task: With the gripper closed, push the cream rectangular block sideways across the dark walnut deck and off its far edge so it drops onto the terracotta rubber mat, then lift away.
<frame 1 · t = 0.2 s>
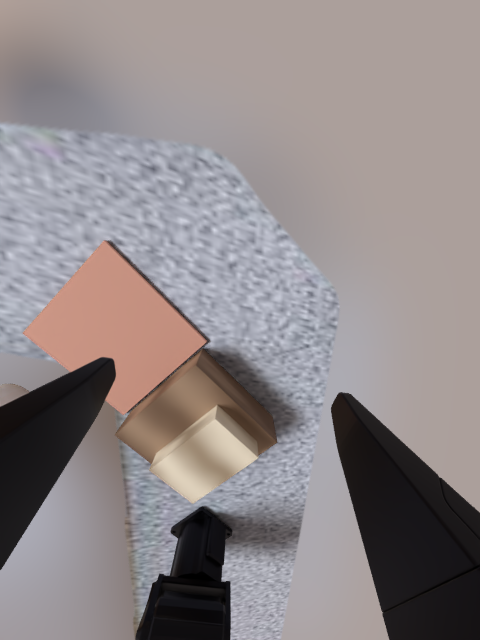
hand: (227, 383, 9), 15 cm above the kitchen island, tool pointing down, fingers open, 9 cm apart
shot glass: (16, 403, 28), on the kitchen island
cream rectangular block: (206, 447, 24), point 4 cm above the kitchen island, touching deck
deck: (202, 412, 27), on the kitchen island
mat: (116, 336, 25), on the kitchen island
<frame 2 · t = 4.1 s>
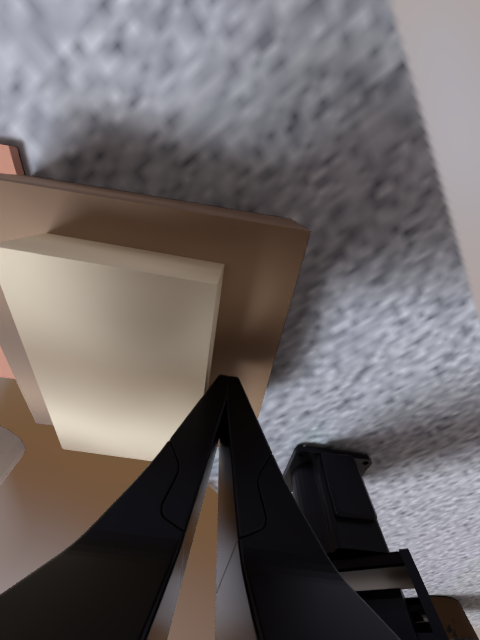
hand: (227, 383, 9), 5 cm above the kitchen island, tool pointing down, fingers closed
cream rectangular block: (143, 353, 10), point 4 cm above the kitchen island, touching deck
deck: (165, 311, 13), on the kitchen island
olive oil: (428, 601, 40), on the kitchen island
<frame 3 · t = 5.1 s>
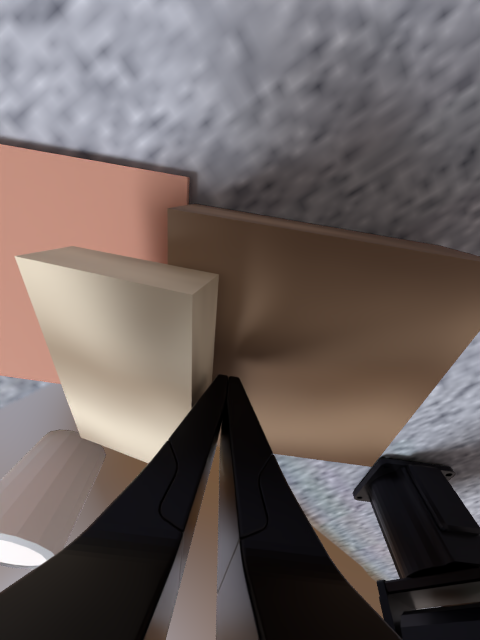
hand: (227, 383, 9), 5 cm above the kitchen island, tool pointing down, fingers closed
shot glass: (76, 447, 21), on the kitchen island
cream rectangular block: (150, 357, 10), point 4 cm above the kitchen island, tilted 13°, touching deck
deck: (288, 330, 14), on the kitchen island
mat: (65, 296, 13), on the kitchen island
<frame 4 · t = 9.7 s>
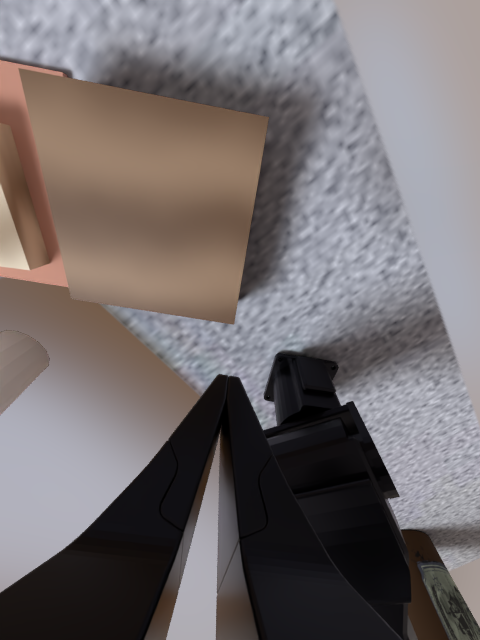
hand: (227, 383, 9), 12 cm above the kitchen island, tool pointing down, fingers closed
shot glass: (23, 351, 25), on the kitchen island
deck: (171, 219, 17), on the kitchen island
olive oil: (402, 538, 44), on the kitchen island
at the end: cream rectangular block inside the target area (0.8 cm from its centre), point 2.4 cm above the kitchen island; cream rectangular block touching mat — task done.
